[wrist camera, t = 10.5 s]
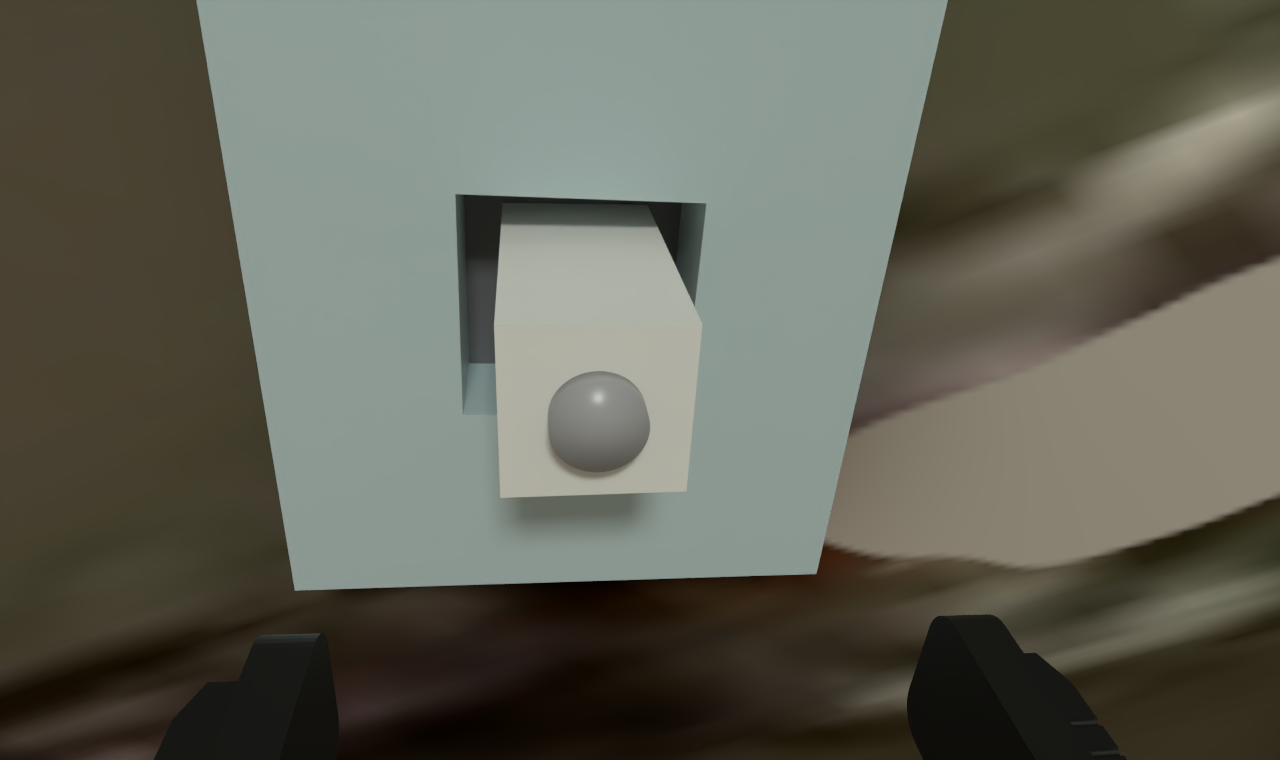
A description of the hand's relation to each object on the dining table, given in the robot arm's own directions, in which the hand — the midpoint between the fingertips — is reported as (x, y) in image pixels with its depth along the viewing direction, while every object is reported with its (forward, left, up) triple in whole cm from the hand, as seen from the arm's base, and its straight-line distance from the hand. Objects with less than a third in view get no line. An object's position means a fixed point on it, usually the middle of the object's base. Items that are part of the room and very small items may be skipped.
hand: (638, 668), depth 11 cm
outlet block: (0, 0, -16) cm, 16 cm away
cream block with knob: (0, 0, -15) cm, 15 cm away
